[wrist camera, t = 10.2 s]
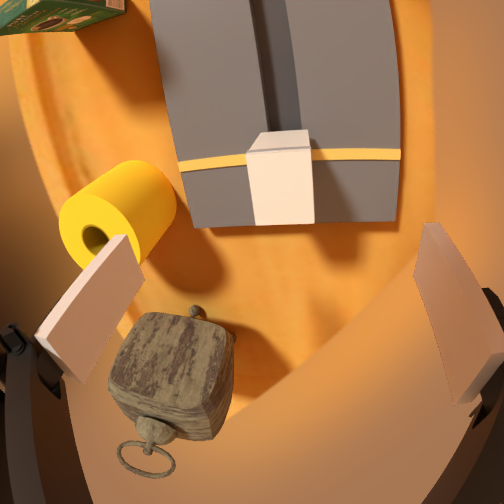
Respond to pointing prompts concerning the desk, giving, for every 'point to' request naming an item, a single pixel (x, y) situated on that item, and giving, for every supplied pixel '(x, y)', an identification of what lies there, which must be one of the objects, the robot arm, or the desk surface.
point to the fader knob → (281, 178)
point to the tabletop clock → (173, 381)
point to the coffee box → (55, 14)
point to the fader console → (282, 100)
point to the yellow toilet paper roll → (118, 211)
